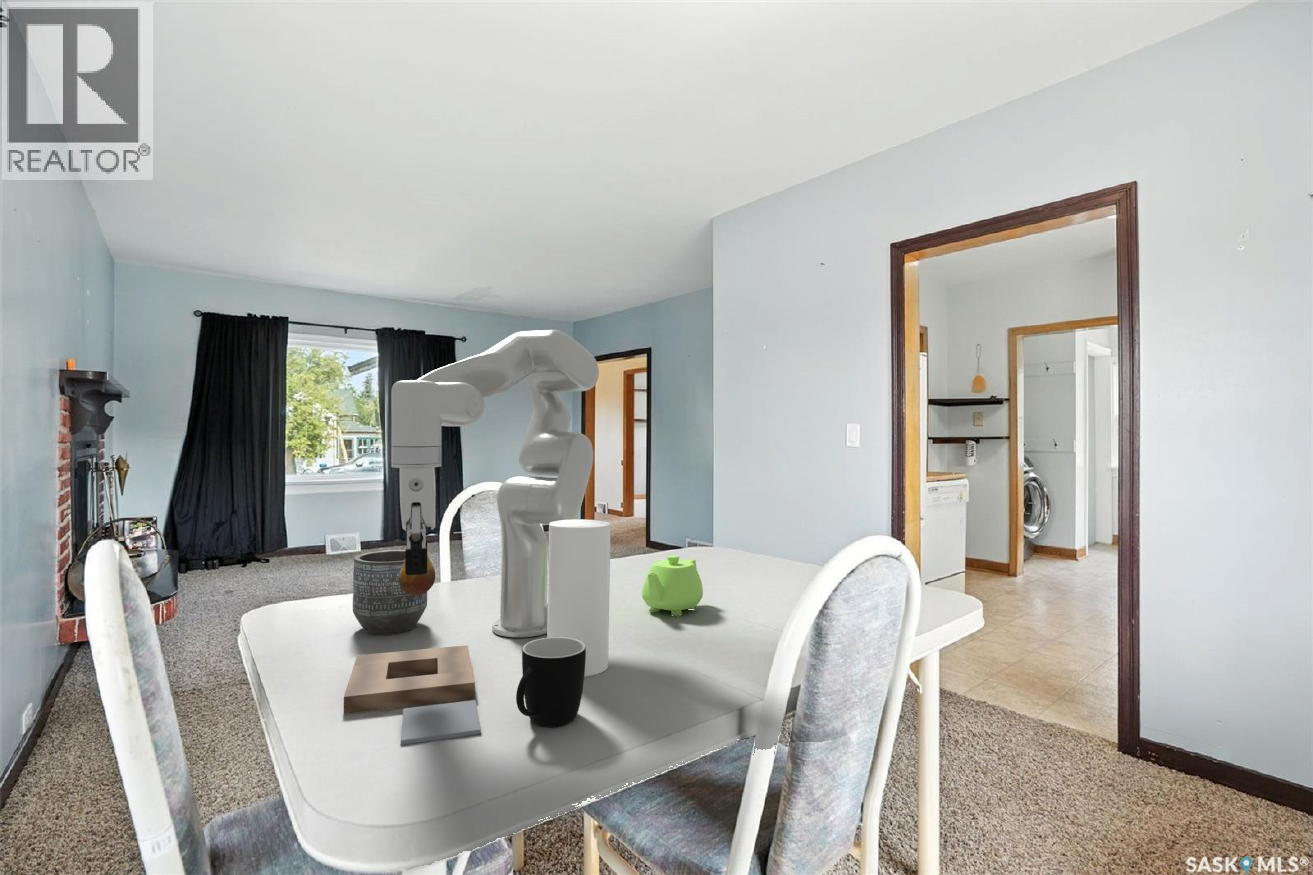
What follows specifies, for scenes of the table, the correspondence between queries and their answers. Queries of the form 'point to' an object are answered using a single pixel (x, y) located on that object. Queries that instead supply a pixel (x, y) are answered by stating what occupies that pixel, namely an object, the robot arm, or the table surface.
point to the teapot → (672, 586)
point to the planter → (384, 594)
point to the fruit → (417, 580)
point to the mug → (551, 680)
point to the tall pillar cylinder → (580, 587)
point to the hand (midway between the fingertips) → (416, 569)
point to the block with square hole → (409, 679)
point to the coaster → (439, 722)
